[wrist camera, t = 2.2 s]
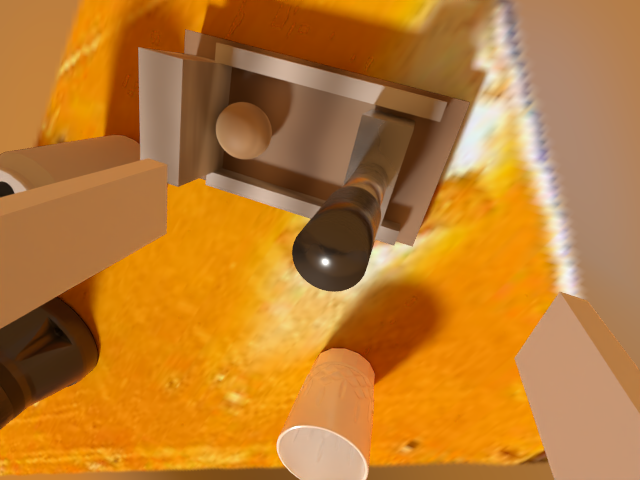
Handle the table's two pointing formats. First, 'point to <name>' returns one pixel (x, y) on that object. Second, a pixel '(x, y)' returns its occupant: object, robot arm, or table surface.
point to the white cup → (331, 420)
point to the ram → (354, 206)
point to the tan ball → (243, 130)
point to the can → (63, 162)
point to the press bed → (287, 127)
